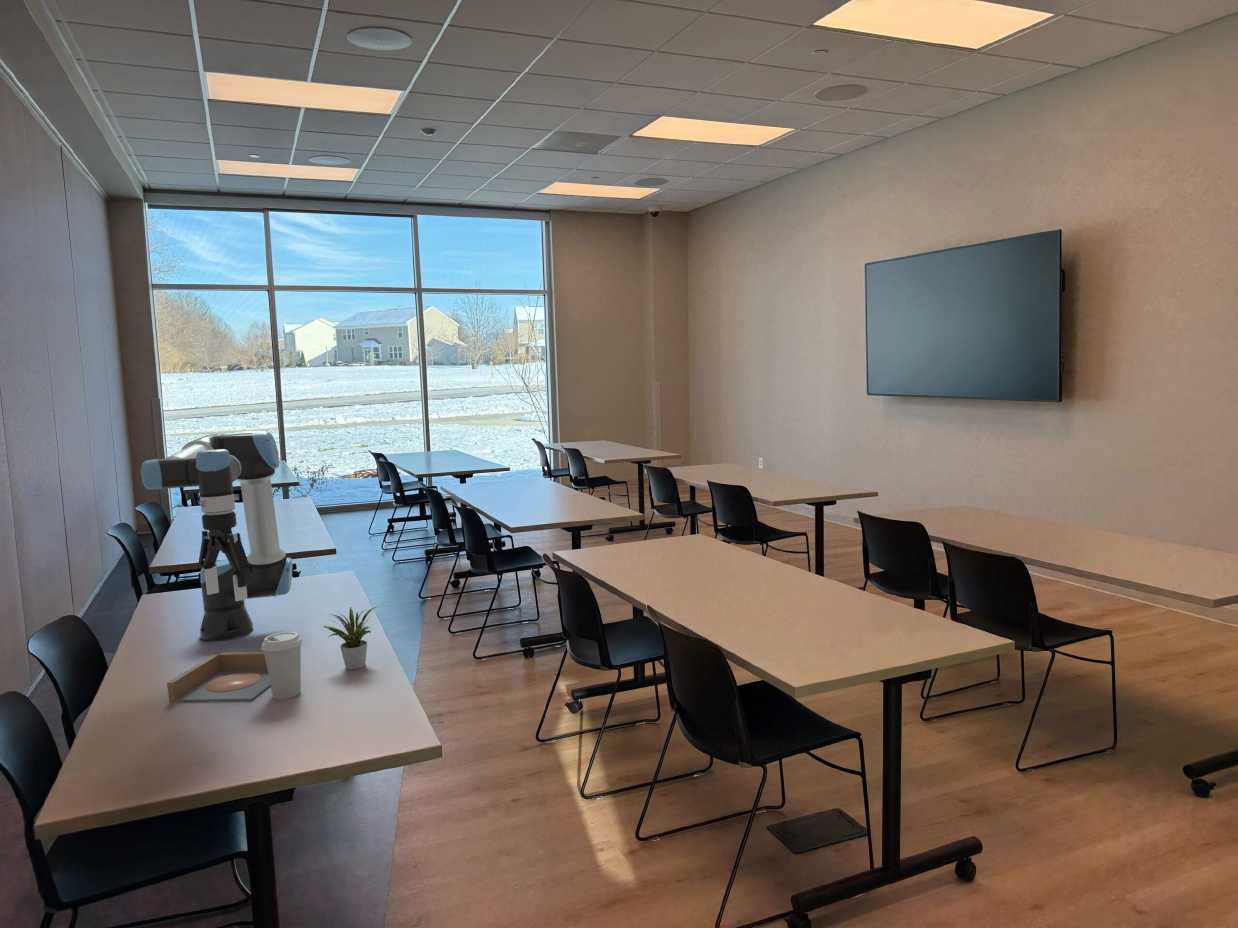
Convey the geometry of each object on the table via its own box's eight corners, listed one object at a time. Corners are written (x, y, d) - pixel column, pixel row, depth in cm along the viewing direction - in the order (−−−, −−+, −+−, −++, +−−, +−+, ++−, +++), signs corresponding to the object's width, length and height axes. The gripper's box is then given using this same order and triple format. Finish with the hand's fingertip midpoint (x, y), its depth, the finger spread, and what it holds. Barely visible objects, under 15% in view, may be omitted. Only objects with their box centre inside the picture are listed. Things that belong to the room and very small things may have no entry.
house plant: (363, 652, 234) (359, 596, 232) (395, 660, 226) (390, 602, 224) (320, 668, 223) (315, 610, 221) (352, 677, 215) (346, 617, 213)
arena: (218, 670, 225) (216, 652, 224) (293, 668, 223) (291, 651, 222) (169, 702, 203) (166, 682, 203) (251, 700, 201) (249, 681, 201)
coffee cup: (266, 691, 207) (260, 634, 206) (306, 684, 211) (301, 628, 209) (266, 704, 199) (260, 645, 197) (307, 697, 202) (302, 638, 201)
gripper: (178, 512, 205) (187, 594, 207) (230, 517, 190) (238, 606, 192) (208, 507, 211) (216, 587, 213) (260, 512, 196) (268, 598, 198)
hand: (227, 596), depth 203 cm, fingers open, 13 cm apart
